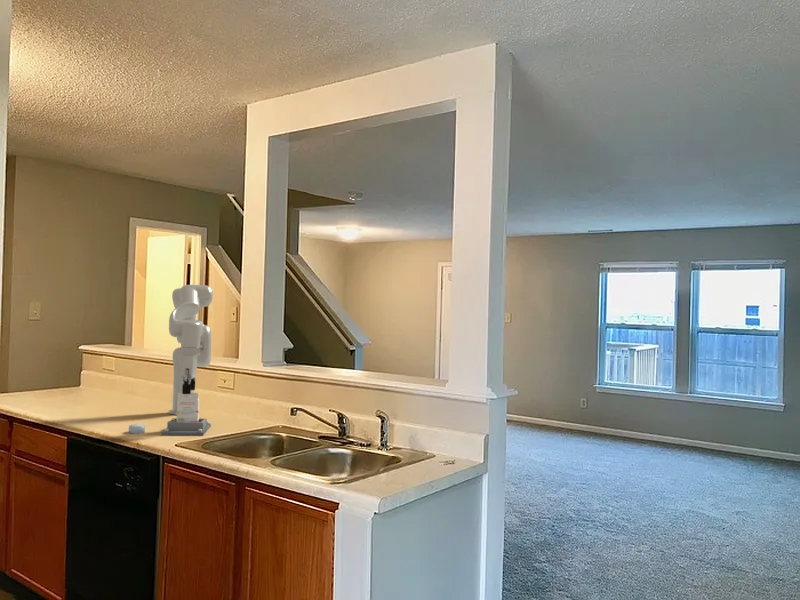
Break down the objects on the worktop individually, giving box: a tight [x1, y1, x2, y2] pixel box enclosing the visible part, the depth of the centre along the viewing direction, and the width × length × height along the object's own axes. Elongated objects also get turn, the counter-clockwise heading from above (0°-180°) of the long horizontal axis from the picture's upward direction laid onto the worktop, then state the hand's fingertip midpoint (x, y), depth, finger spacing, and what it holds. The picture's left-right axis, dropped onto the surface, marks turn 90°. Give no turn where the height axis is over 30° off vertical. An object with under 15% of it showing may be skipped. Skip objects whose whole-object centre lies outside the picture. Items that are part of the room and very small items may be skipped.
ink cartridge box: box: [176, 392, 200, 422], centre depth 263 cm, size 9×5×15 cm, turn 102°
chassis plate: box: [161, 417, 212, 437], centre depth 262 cm, size 20×16×4 cm
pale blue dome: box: [128, 423, 146, 435], centre depth 256 cm, size 6×6×3 cm
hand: (188, 391), depth 263 cm, fingers open, 9 cm apart
